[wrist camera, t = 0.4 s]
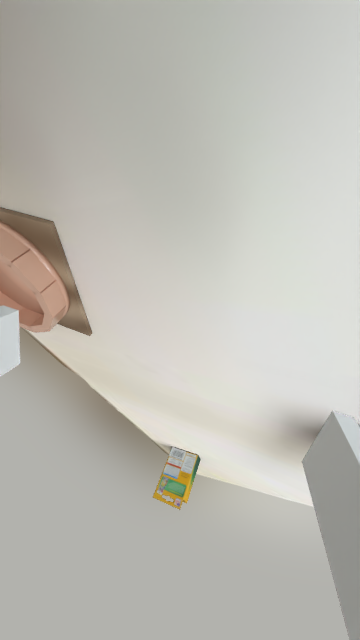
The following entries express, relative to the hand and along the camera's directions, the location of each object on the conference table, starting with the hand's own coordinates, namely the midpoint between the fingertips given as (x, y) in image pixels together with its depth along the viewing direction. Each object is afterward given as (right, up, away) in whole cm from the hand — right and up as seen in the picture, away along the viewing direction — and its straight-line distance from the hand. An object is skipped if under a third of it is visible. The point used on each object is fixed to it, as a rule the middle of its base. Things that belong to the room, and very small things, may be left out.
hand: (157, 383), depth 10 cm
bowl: (-21, +9, +24) cm, 33 cm away
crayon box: (+3, -31, +54) cm, 62 cm away
